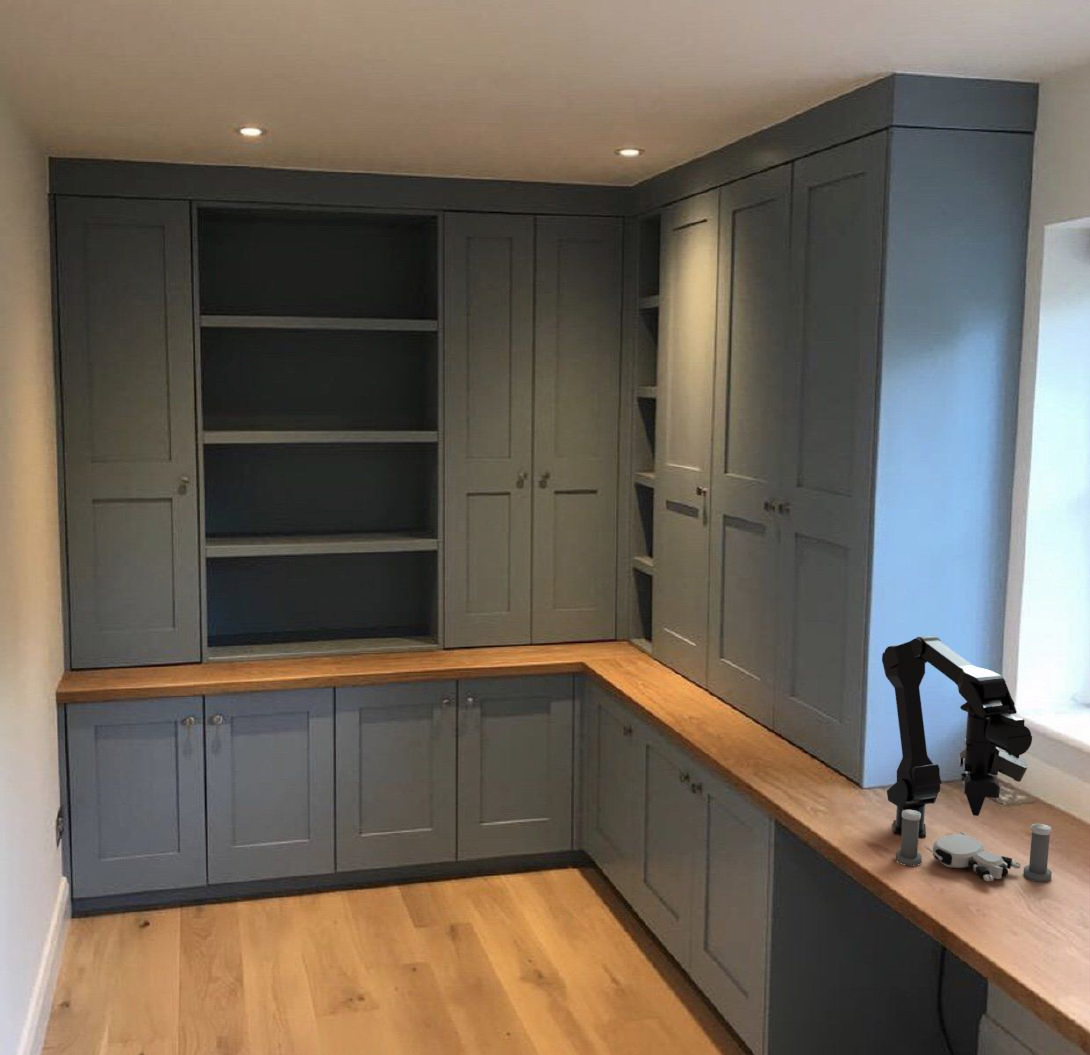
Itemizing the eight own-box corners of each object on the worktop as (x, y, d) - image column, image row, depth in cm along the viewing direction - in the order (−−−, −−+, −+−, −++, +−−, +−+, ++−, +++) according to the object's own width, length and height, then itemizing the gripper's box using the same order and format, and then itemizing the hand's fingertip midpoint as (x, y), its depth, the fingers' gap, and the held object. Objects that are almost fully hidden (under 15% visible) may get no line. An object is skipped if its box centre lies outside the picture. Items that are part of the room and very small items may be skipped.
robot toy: (1023, 878, 241) (956, 847, 252) (1026, 857, 240) (959, 826, 251) (987, 895, 233) (919, 862, 245) (990, 873, 232) (922, 841, 244)
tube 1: (895, 854, 249) (898, 807, 247) (921, 857, 247) (924, 809, 246) (895, 864, 244) (898, 816, 242) (921, 867, 242) (925, 819, 241)
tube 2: (1022, 869, 242) (1026, 821, 241) (1049, 872, 241) (1053, 824, 239) (1024, 880, 238) (1028, 830, 236) (1052, 883, 236) (1057, 834, 235)
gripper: (1031, 758, 227) (1024, 839, 230) (1020, 727, 245) (1014, 802, 248) (967, 752, 230) (961, 831, 233) (961, 721, 248) (956, 795, 250)
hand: (975, 815), depth 241 cm, fingers closed
